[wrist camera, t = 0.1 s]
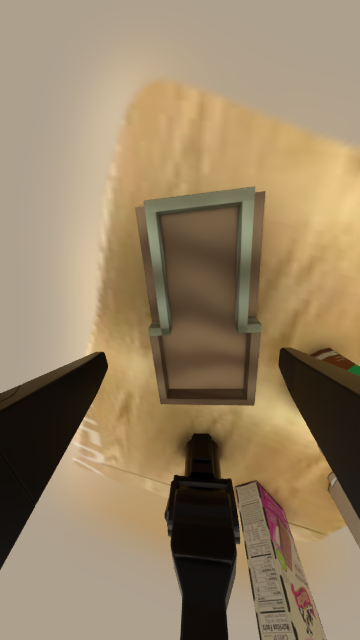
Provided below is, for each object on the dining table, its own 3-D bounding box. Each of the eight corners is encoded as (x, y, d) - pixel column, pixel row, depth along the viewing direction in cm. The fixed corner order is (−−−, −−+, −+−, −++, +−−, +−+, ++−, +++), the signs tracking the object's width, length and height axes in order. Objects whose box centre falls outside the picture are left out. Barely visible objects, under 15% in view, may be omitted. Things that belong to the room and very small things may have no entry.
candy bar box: (285, 508, 36) (347, 695, 21) (262, 514, 38) (305, 692, 23) (257, 478, 34) (305, 666, 18) (234, 485, 35) (260, 665, 20)
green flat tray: (249, 391, 26) (254, 405, 24) (163, 391, 28) (160, 404, 26) (263, 192, 18) (273, 184, 15) (136, 208, 19) (128, 202, 17)
